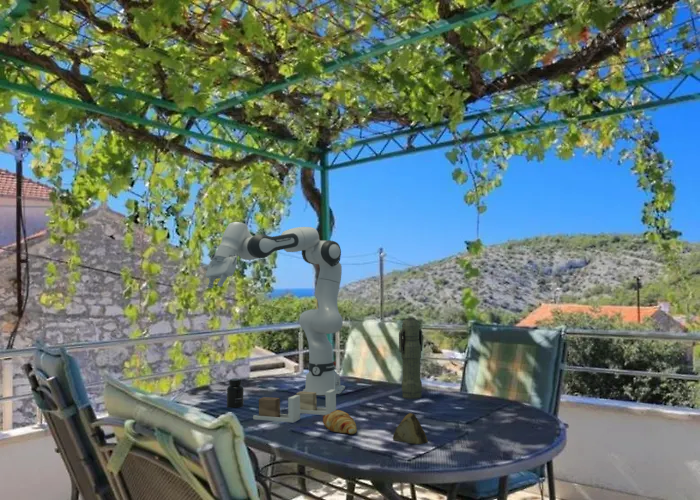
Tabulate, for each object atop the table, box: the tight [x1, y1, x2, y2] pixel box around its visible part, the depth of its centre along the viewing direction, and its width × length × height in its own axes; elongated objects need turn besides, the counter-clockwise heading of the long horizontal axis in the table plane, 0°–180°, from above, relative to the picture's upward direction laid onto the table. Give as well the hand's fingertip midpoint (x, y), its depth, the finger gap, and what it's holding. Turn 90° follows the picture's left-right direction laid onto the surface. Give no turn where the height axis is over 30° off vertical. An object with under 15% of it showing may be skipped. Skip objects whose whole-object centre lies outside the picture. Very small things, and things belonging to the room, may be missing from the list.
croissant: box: [322, 409, 358, 435], centre depth 207 cm, size 21×10×8 cm, turn 34°
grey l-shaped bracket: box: [252, 394, 301, 423], centre depth 219 cm, size 6×17×10 cm, turn 69°
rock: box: [392, 412, 429, 445], centre depth 191 cm, size 11×9×10 cm
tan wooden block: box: [295, 390, 318, 411], centre depth 230 cm, size 4×7×8 cm, turn 69°
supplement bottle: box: [226, 378, 244, 409], centre depth 243 cm, size 7×7×12 cm
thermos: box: [398, 318, 424, 400], centre depth 260 cm, size 9×12×35 cm
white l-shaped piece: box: [300, 389, 337, 416], centre depth 229 cm, size 6×17×10 cm, turn 69°
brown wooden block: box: [258, 396, 281, 417], centre depth 220 cm, size 4×7×8 cm, turn 69°
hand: (214, 286), depth 237 cm, fingers open, 8 cm apart
